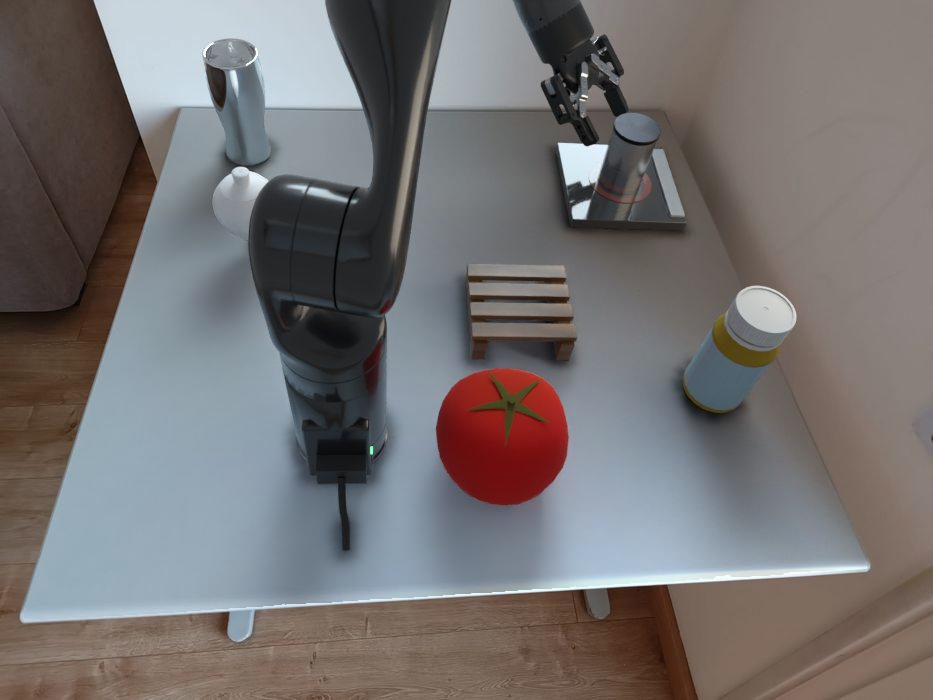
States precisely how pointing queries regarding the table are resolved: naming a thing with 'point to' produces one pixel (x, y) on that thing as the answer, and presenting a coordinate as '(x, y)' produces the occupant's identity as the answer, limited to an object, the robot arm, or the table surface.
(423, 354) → the table surface
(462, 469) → the tomato
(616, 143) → the metal canister
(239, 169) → the spinning top
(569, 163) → the stove
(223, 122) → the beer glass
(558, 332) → the wooden pallet
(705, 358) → the bottle
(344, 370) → the robot arm
